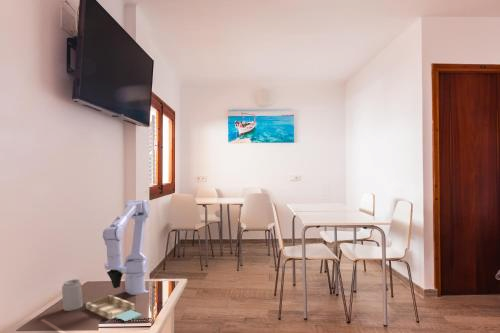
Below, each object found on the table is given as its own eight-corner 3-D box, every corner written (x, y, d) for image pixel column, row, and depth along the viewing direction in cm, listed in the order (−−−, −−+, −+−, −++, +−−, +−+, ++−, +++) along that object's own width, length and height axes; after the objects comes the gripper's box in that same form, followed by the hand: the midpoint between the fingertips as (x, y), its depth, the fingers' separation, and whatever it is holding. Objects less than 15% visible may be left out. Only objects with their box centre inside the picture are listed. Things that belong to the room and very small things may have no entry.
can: (86, 306, 155) (85, 278, 155) (73, 313, 148) (71, 284, 148) (73, 305, 157) (71, 278, 158) (59, 312, 150) (57, 283, 150)
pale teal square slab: (114, 321, 138) (114, 316, 138) (130, 314, 143) (130, 309, 143) (125, 326, 133) (125, 320, 133) (142, 319, 138) (141, 314, 138)
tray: (86, 310, 150) (85, 302, 150) (111, 301, 158) (110, 294, 158) (109, 321, 137) (109, 313, 137) (135, 311, 145) (134, 303, 145)
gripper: (96, 255, 151) (99, 287, 151) (114, 259, 142) (116, 293, 142) (112, 251, 157) (114, 282, 157) (130, 255, 147) (132, 288, 147)
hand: (116, 287), depth 150 cm, fingers closed
